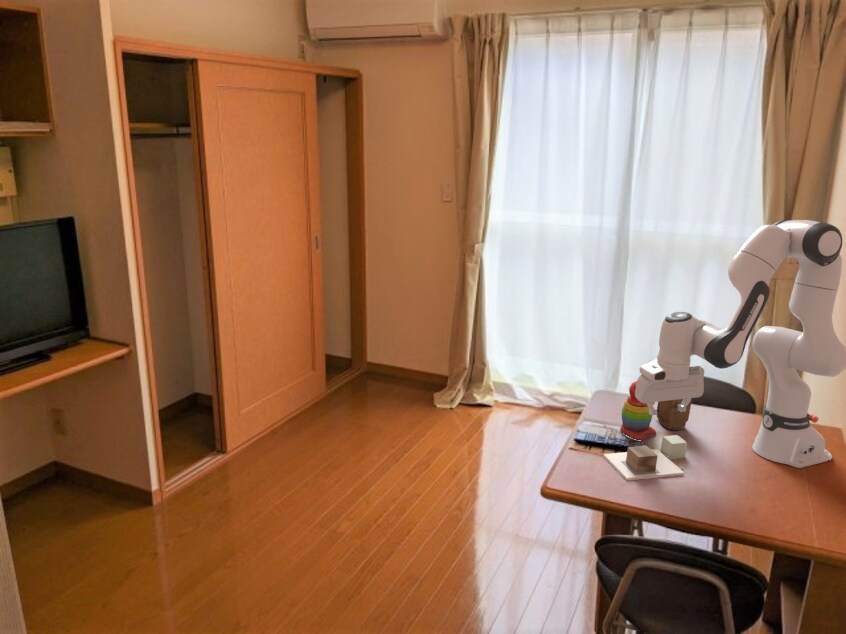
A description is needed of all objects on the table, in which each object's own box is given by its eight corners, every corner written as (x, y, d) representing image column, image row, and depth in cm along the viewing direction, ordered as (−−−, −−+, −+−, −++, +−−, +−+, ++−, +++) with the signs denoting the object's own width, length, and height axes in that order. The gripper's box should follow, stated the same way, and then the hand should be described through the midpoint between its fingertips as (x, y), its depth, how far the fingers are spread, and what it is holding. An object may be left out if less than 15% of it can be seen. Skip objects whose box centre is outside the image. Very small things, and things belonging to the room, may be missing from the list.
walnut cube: (644, 460, 196) (646, 445, 195) (655, 471, 191) (657, 455, 189) (625, 462, 195) (627, 447, 193) (636, 472, 189) (638, 457, 188)
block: (689, 430, 218) (698, 373, 213) (668, 432, 217) (676, 374, 211) (671, 416, 229) (679, 362, 223) (651, 417, 227) (659, 362, 221)
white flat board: (657, 451, 204) (657, 449, 203) (683, 475, 191) (684, 472, 190) (603, 456, 200) (603, 453, 200) (626, 480, 187) (626, 477, 186)
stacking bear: (639, 443, 209) (646, 390, 204) (612, 431, 216) (618, 380, 211) (658, 434, 215) (665, 383, 210) (631, 422, 223) (638, 373, 218)
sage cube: (675, 449, 206) (677, 435, 204) (684, 457, 201) (687, 442, 199) (660, 450, 204) (662, 436, 203) (669, 458, 200) (672, 443, 198)
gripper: (698, 361, 194) (692, 404, 199) (634, 367, 190) (630, 411, 194) (711, 369, 188) (705, 413, 193) (646, 376, 184) (641, 421, 188)
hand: (667, 412), depth 193 cm, fingers open, 8 cm apart
